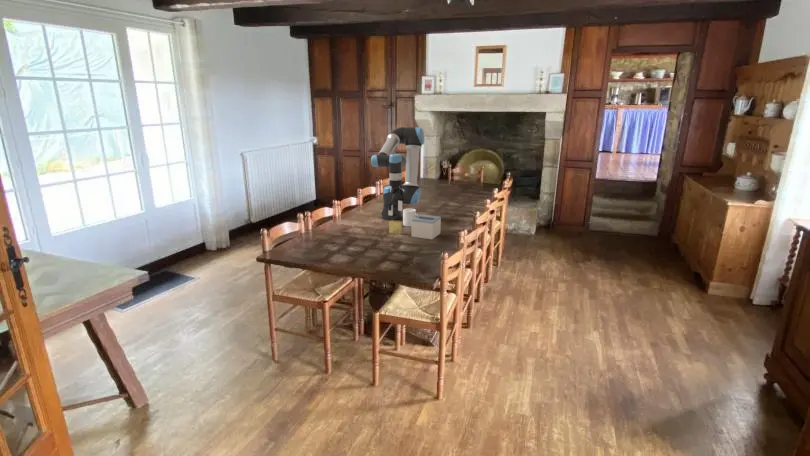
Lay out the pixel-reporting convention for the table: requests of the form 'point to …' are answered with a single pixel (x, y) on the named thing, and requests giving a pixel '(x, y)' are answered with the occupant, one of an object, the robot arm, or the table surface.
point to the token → (395, 227)
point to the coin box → (426, 226)
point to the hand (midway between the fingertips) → (395, 213)
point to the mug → (408, 217)
